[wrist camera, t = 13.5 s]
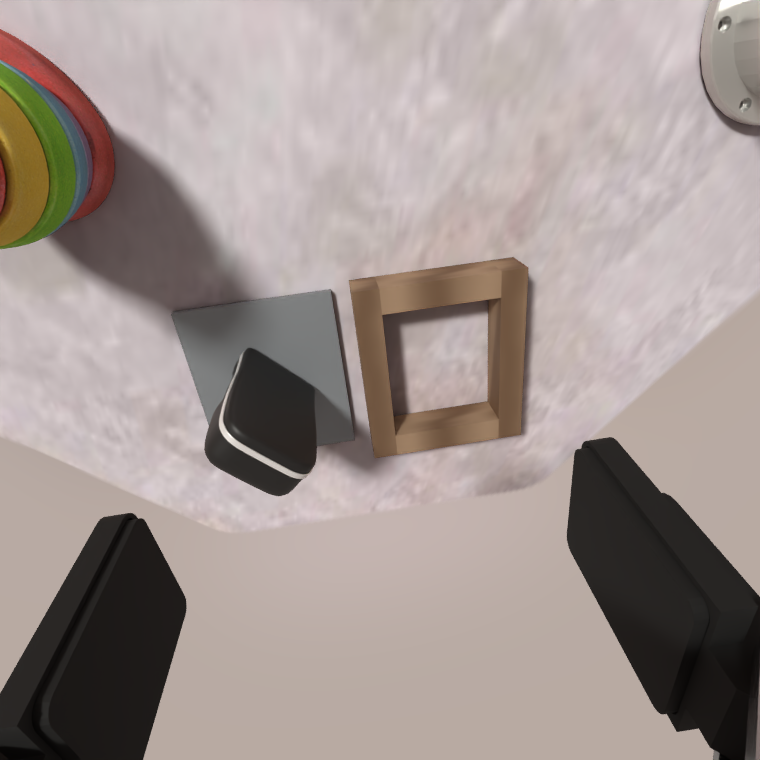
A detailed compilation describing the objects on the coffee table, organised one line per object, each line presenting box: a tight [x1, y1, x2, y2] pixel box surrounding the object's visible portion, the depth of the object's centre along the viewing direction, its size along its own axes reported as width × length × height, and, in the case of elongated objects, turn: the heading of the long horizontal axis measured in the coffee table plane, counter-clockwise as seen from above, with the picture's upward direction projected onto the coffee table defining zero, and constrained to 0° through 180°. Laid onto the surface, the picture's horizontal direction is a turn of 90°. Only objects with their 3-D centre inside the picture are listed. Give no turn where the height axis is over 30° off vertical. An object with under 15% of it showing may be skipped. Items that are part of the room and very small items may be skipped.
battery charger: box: [204, 348, 317, 496], centre depth 34 cm, size 7×4×11 cm, turn 50°
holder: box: [349, 257, 528, 458], centre depth 39 cm, size 13×15×3 cm
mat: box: [171, 289, 355, 446], centre depth 40 cm, size 12×14×1 cm
